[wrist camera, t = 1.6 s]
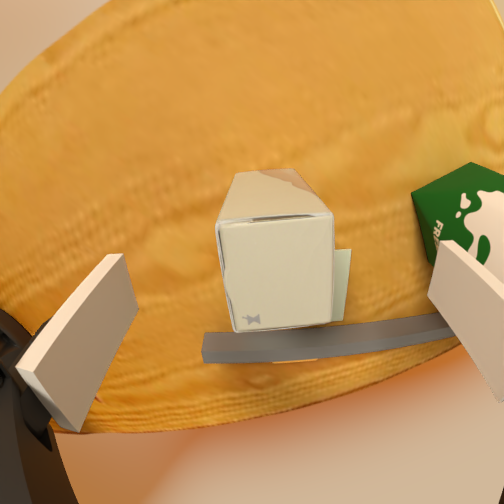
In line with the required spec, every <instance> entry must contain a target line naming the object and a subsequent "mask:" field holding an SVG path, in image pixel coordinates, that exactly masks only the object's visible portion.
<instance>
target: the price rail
mask: <svg viewBox="0 0 504 504" xmlns="http://www.w3.org/2000/svg"><path fill="white" fill-rule="evenodd" d="M453 336H456V334H455V333H454V332H453V330H452V329H451V327H450V326H449V325H448V323H447V322H446V320H445V319H444V318H443V316H442V315H441V314H440V312H437V313H432V314H426V315H419V316H413V317H406V318H399V319H392V320H385V321H377V322H369V323H360V324H351V325H341V326H330V327H319V328H306V329H292V330H275V331H254V332H241V333H236V332H219V333H205V335H204V340H203V345H202V351H201V352H202V357H203V361H204V363H257V362H272V363H273V364H274V363H291V362H304V361H315V360H317V359H318V358H328V357H337V356H346V355H354V354H361V353H368V352H375V351H381V350H388V349H394V348H399V347H405V346H410V345H416V344H421V343H426V342H430V341H435V340H440V339H444V338H449V337H453Z"/></svg>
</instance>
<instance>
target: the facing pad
mask: <svg viewBox="0 0 504 504" xmlns="http://www.w3.org/2000/svg"><path fill="white" fill-rule="evenodd" d="M350 259H351V249H339V250H335V272H334V295H333V307H332V318H331V322H332V321H343V315H344V308H345V301H346V294H347V286H348V278H349V269H350Z"/></svg>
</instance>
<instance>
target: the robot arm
mask: <svg viewBox="0 0 504 504" xmlns="http://www.w3.org/2000/svg"><path fill="white" fill-rule="evenodd" d="M427 296H428V298H429V299H430V300H431V302H432V303H433V304H434V305H435V307H436V308H437V309H438V311H439V312H440V314H441V315H442V316H443V318H444V319H445V320H446V322H447V323H448V325H449V326H450V327H451V329H452V330H453V332H454V333H455V334H456V336H457V337H458V339H459V340H460V342H461V343H462V345H463V346H464V348H465V349H466V350H467V352H468V354H469V355H470V357H471V358H472V360H473V361H474V363H475V364H476V366H477V368H478V369H479V370H480V372H481V374H482V376H483V377H484V379H485V381H486V382H487V384H488V386H489V387H490V389H491V391H492V393H493V394H494V396H495V398H496V399H497V401H498V403H500V402H502V401H504V284H503V283H502V282H500V281H499V280H498V279H497V278H496V277H495V276H494V275H493V274H492V273H491V272H490V271H488V270H487V269H486V268H485V267H484V266H483V265H482V264H481V263H479V262H478V261H477V260H476V259H475V258H474V257H472V256H471V255H470V254H469V253H468V252H467V251H465V250H464V249H463V248H462V247H460V246H459V245H458V244H457V243H456V242H454V241H453V240H448V241H440V243H439V248H438V253H437V257H436V262H435V266H434V270H433V274H432V278H431V282H430V286H429V290H428V294H427ZM138 310H139V308H138V305H137V301H136V298H135V294H134V291H133V288H132V284H131V280H130V277H129V273H128V269H127V265H126V262H125V258H124V254H108V255H107V256H106V257H105V258H104V259H103V260H102V261H101V262H100V263H99V264H98V265H97V266H96V267H95V269H94V270H93V271H92V272H91V273H90V274H89V275H88V276H87V277H86V279H85V280H84V281H83V282H82V283H81V284H80V285H79V286H78V288H77V289H76V290H75V291H74V292H73V293H72V294H71V296H70V297H69V298H68V299H67V300H66V302H65V303H64V304H63V305H62V306H61V308H60V309H59V310H58V311H57V312H56V314H55V315H54V316H52V317H51V318H50V319H48V320H47V321H46V322H44V323H43V324H42V325H41V327H40V328H39V329H38V330H37V332H36V333H35V335H33V337H31V336H30V335H29V334H28V332H27V331H26V330H25V329H24V328H23V327H22V326H21V325H20V324H19V323H18V322H17V321H16V320H14V319H13V318H12V317H11V316H10V315H8V314H7V313H6V312H4V311H3V310H1V309H0V504H79V503H78V501H77V499H76V496H75V494H74V492H73V489H72V487H71V484H70V482H69V479H68V476H67V474H66V471H65V468H64V465H63V462H62V459H61V456H60V453H59V450H58V446H57V443H56V439H55V435H54V432H53V429H52V427H51V425H50V424H49V421H50V419H51V417H53V419H54V420H55V421H56V422H57V423H58V424H59V426H60V427H62V428H65V429H68V430H71V431H75V432H78V433H79V432H80V430H81V427H82V425H83V423H84V420H85V418H86V416H87V413H88V411H89V409H90V407H91V404H92V402H93V400H94V398H95V396H96V393H97V391H98V389H99V387H100V385H101V383H102V381H103V379H104V376H105V374H106V372H107V370H108V368H109V366H110V364H111V362H112V360H113V358H114V356H115V354H116V352H117V350H118V348H119V346H120V344H121V342H122V340H123V338H124V336H125V334H126V333H127V331H128V329H129V327H130V325H131V323H132V321H133V319H134V317H135V316H136V314H137V312H138ZM499 504H504V488H503V491H502V495H501V498H500V501H499Z"/></svg>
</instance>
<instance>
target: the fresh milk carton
mask: <svg viewBox="0 0 504 504" xmlns="http://www.w3.org/2000/svg"><path fill="white" fill-rule="evenodd" d="M411 195H412V198H413V201H414V205H415V208H416V212H417V216H418V219H419V223H420V227H421V231H422V235H423V240H424V244H425V248H426V253H427V258H428V262H429V263H430V264H431V265H432V266H433V267H434V266H435V262H436V257H437V253H438V248H439V243H440V241H448V240H453V241H454V242H456V243H457V244H458V245H459V246H460V247H462V248H463V249H464V250H465V251H467V252H468V253H469V254H470V255H471V256H472V257H474V258H475V259H476V260H477V261H478V262H479V263H481V264H482V265H483V266H484V267H485V268H486V269H487V270H488V271H490V272H491V273H492V274H493V275H494V276H495V277H496V278H497V279H498V280H499V281H500V282H502V283H503V284H504V175H501V174H499V173H497V172H495V171H492V170H490V169H488V168H485V167H483V166H480V165H478V164H475V163H472V162H470V163H468V164H466V165H464V166H462V167H460V168H458V169H457V170H455V171H453V172H451V173H449V174H447V175H445V176H443V177H441V178H439V179H437V180H435V181H433V182H431V183H429V184H427V185H426V186H424V187H422V188H420V189H418V190H416V191H414V192H412V193H411Z"/></svg>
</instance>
